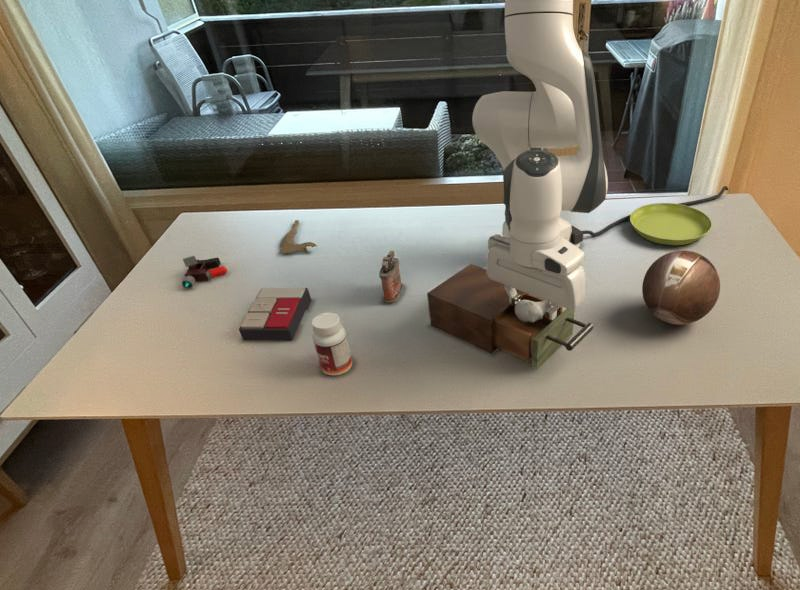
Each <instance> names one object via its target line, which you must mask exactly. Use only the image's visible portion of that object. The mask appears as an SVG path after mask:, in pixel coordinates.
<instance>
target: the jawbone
mask: <svg viewBox="0 0 800 590" xmlns="http://www.w3.org/2000/svg"><path fill="white" fill-rule="evenodd" d="M299 225H300V221H299V219H295V220H294V222H293V225H292V228H291V230H289V231H288V232H287V233H286V234H284V237H282V239H281V242H280V248H281V249H279V253H280V254H281V255H289V254H291V253H296V252H304V253H305V254H308V253H309V252H308V248H307V247H311V248H315V247H316V248H318V245H317V244H316V243H315V242H312V241H306V242H303V243H295V236H296V235H297V233H298V231H297V230H298V227H299Z"/></svg>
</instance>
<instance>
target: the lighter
mask: <svg viewBox="0 0 800 590" xmlns="http://www.w3.org/2000/svg"><path fill="white" fill-rule="evenodd" d="M395 252H396V251H394V250H393V249H392V250H389V251H388V253H387V255H386V256H383V258H382V263H381V267H380V269H379V273H378V275H379V279H380V281H381V287H382V293H383V303H384V304H385V305H393V304H395V303H396V302H397V301H398V300H399V298H400V297H401V295H402V293H403V290H404V286H403V283H402V278H401V277H402V276H401V270H400V259H399V258H397V257H395V256H396V254H395Z"/></svg>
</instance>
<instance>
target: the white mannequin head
mask: <svg viewBox="0 0 800 590" xmlns="http://www.w3.org/2000/svg"><path fill="white" fill-rule="evenodd" d="M550 307H552V306H551V302H549V301H546V300H545V301H542V302H533V301H530V300H521V301H519V302H517V304H516V306H515V314H516V316H517V317H518V319H519V320H521V321H523V322H532V323H534V322H535V321H537V320H540V319H542V318H543V315H546V314H545V312H546V310H547V309H549V308H550Z"/></svg>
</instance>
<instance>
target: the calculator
mask: <svg viewBox="0 0 800 590" xmlns="http://www.w3.org/2000/svg"><path fill="white" fill-rule="evenodd" d="M311 302H312V297H311V294H310V291H309V288H308V287H262V288H260V290H259V291H258V293H257V295H256V297H255V299H254V301H253V302H252V304H251V305H250V308H249V310H247V311H248V312H247V313H246V315H245V317H244V319H243V320H242V322H241V323H240V326H239V328H238V332H239V335H240V337H241V339H242V340H243V341H293V340H294V338H295V336H296V335H297V331H298V329H299V327H300V325H301V323H302V320H303V318H304V315H305V313H306V311H308V310H309V308H310V305H311Z"/></svg>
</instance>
